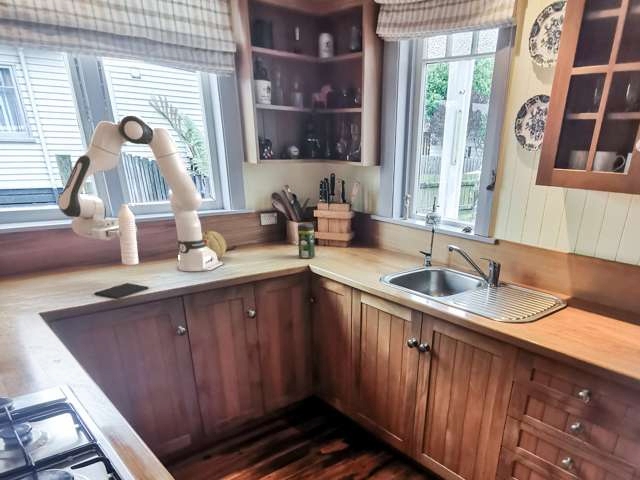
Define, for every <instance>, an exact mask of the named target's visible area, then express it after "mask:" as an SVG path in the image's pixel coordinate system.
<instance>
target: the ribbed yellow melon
mask: <svg viewBox="0 0 640 480" xmlns="http://www.w3.org/2000/svg"><path fill="white" fill-rule="evenodd" d="M202 239H208V240H209V243H205V244H206V246H207V247H208V248H210V249H211V250H212V251H214V252H215V253H216V255H217V259H220V258H221V257H222V256H224V255H225V253H226V249H227V242H226V240H225V238H224V237H223V236H222V235H221V234H220V233H219V232H217V231H213V230H208V231H207V230H206V231H204V232H202Z"/></svg>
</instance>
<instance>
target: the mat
mask: <svg viewBox="0 0 640 480" xmlns="http://www.w3.org/2000/svg"><path fill="white" fill-rule="evenodd" d="M148 289H149V286H146V285H140V284H135V283H130V282H129V283H128V282H126V283H122V284H119V285H115V286H112V287H109V288H106V289H103V290H99V291H95V292H94V294H95V295H96V296H101V297H105V298H112V299H120V298H124V297H126V296H130V295H133V294H136V293H138V292H142V291H145V290H148Z"/></svg>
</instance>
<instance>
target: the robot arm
mask: <svg viewBox="0 0 640 480" xmlns="http://www.w3.org/2000/svg"><path fill="white" fill-rule="evenodd" d="M90 140H91V141H90V143H89V146H88V149H87V150H86V152H85V153H84V154H83V155H81V156H79V158H78V159H77V160H76V162H75V164H74V165H73V168H72V170H71V172H70V175H69V177H68V180H67V182H66V184H65V186H64V189H63V190H62V191H61V193H60V195H59V196H58V199H57V206H58V209H59V210H60V211H61V212H62V213H63V214H64V215H65V216H66V217H68V218H73V219H72V220H71V221H70V222H71V223H70V226H71V229H72V231H73V232H74V233H75V234H76V235H79V236H81V237H84V238H87V239H95V240H102V241H111V240H112V239H114V238H116V237H119V236H121V232H119V227H118V226H119V225H118V219H108V218H107V219H106V217H107V207H106V205H105V203H104V201H103V200H102V199H101V198H100V197H98V196H93V195H87V194H82V191H83V189H84V187H85V184H86V182H87V180H88V178H89V177H90V176H92V175H95V174H97V173H105V172H109V171H112V170H113V169H115V168H116V167H117V165H118V163H119V161H120V160H119V159H120V155H121V151H122V149H123V146H124V144H125V143H127V142H129V143H131V144H133V145H134V144H135V145H146V146H148V147H149V149H150V151H151V153H152V156H153V158H154V160H155V163H156V166H157V167H158V170H159V171H160V174H161V176H162V178H163V179H164V181H165V183H166V185H167V186H168V188H169V190H168V191H167V196H168V199H169V203H170V207H171V210H172V214H173V215H172V216H173V217H174V221H175V226H176V234H177V247H178V249H179V250H178V261H179V262H178V270H180V271H184V272H203V271H204V272H205V271H206V272H207V271H211V270H214V269H216V268H218V267H220V266H222V265H224V262H223V261H221V260H218V259H219V258H217V255H216V253H215V252H214V251H212V250H211V249H210V248H208V247H207V246H206V244H205V243H209V240H208V239H202V234H203V232H202V225H201V220H200V218H199V215H198V212H197V210H199V209H200V208H201V207H202V204H203V198H202V195H201V193H200V192H199V190H198V188H197V186H196V184H195V182H194V180H193V179H192V177H191V175H190V173H189V171H188V169H187V166H186V165H185V163H184V160H183V158H182V155H181V152H180V149H179V148H178V145H177V144H176V141H175V140H174V138H173V136H172V134H171V133H170V131H169V130H168V129H167V128H166V127H163V126H150V125H149V124H148V123H147V122H146V121H145V120H144V118H142V117H141V116H140V115H138V114H134V113H129V114H125V115H124V116H123V117H121V118H120V120H119V121H118V122H117V123H115V122H112V121H110V120H109V121H107V120H102V121H100V122H98V123H97V125H96V127H95V129H94V131H93V134H92V137H91V139H90ZM135 229H136V233H138V227H137V224H136V223H135ZM234 248H236V245H235V246H233V245H232V247H229V248H226V251H230V250H233V249H234ZM226 251H225V252H226Z"/></svg>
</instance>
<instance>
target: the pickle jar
mask: <svg viewBox="0 0 640 480" xmlns="http://www.w3.org/2000/svg"><path fill="white" fill-rule="evenodd" d="M297 234H298V258H299V259H303V260H304V259H305V260H307V259H312V258H314V257H315V256H316V253H315V251H316V250H315V235H314V234H315V228H314V224H313V223H312V222H304V223H301V224H299V225H297Z"/></svg>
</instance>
